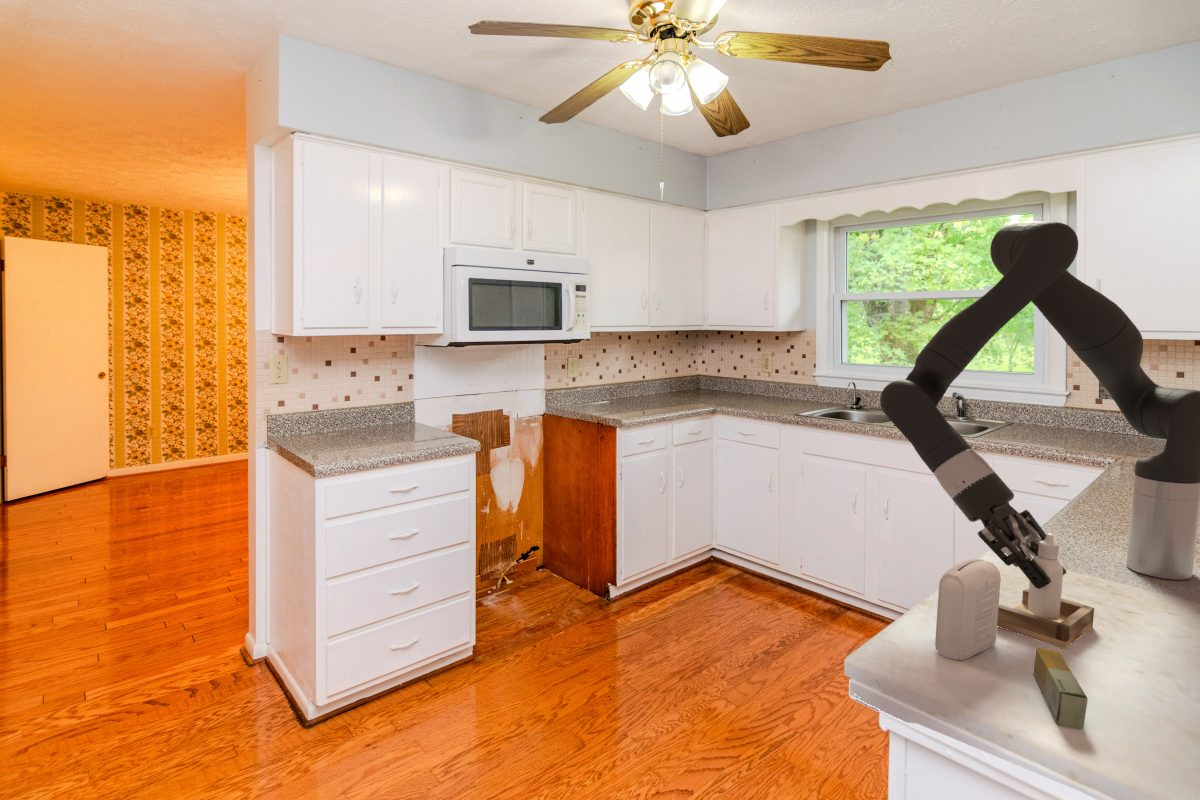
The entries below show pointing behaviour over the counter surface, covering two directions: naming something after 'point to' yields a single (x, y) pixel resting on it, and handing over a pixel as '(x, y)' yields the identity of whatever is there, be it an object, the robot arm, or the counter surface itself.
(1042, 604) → the eye dropper bottle
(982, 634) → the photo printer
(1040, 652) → the medication box
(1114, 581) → the counter surface
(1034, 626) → the oak tray
